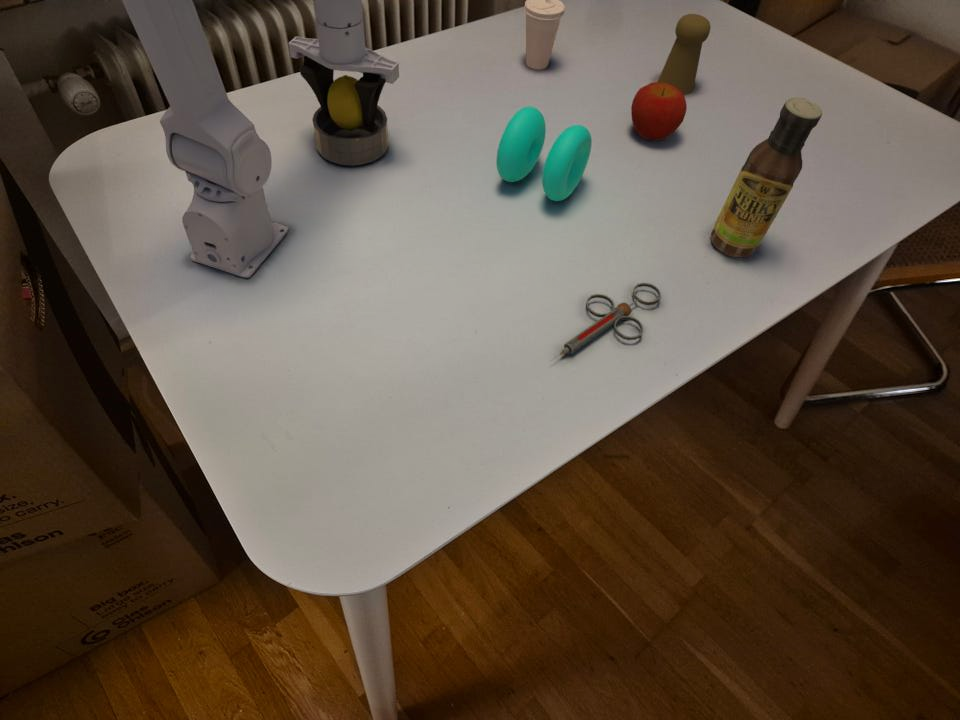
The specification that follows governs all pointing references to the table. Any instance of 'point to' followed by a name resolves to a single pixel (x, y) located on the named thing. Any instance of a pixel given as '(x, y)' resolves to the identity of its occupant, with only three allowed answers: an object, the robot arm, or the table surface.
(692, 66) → the pawn
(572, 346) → the syringe
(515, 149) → the donuts
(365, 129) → the bowl
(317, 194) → the table surface
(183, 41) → the robot arm
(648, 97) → the apple
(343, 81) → the lemon
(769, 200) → the sauce bottle
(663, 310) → the table surface
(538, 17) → the smoothie
